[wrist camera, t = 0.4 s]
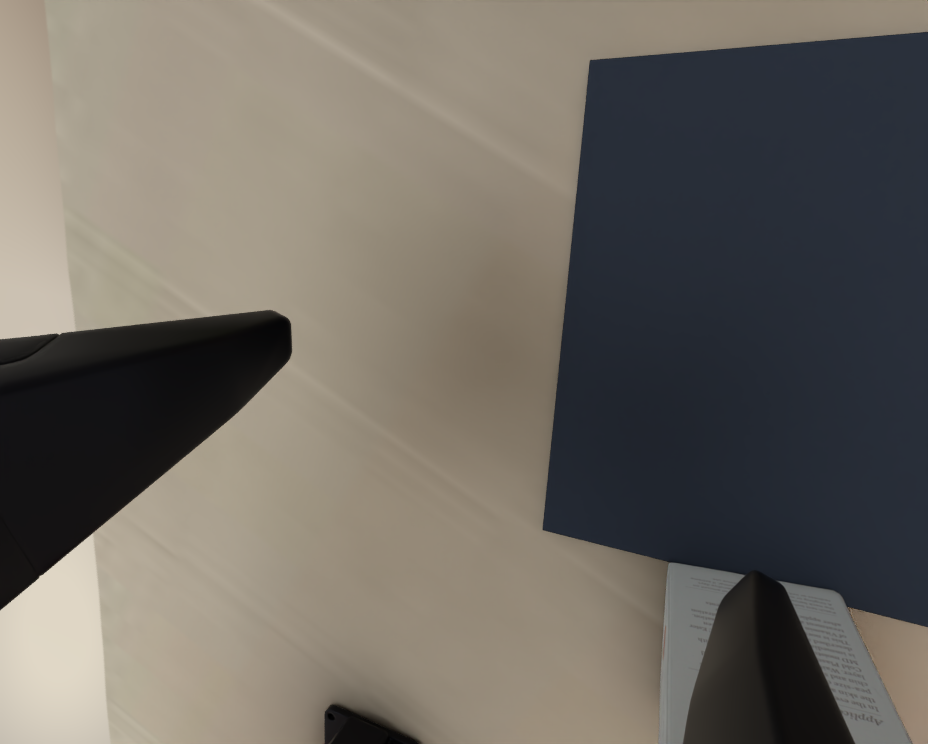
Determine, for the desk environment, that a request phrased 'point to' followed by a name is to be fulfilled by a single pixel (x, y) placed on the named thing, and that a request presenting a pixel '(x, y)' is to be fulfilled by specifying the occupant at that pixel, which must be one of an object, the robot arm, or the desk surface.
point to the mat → (753, 317)
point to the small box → (828, 633)
